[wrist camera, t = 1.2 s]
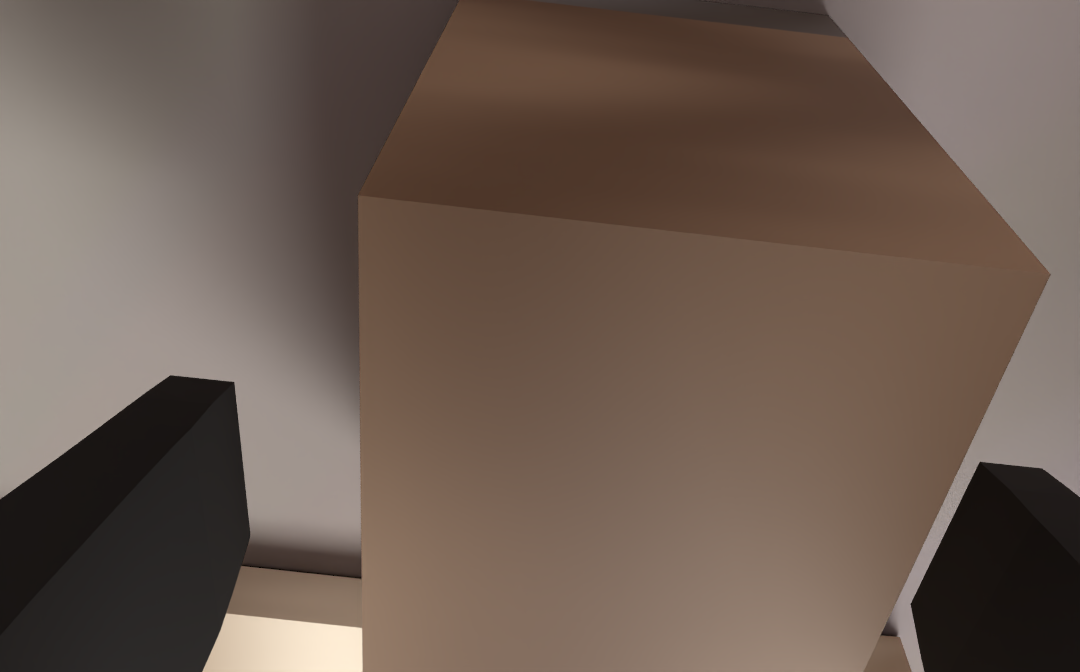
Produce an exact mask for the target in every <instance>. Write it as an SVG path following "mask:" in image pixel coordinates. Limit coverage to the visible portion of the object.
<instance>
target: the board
mask: <svg viewBox="0 0 1080 672" xmlns="http://www.w3.org/2000/svg"><path fill="white" fill-rule="evenodd" d="M202 672H363V663H362V579H357V578H348V577H338V576H329V575H320V574H311V573H301V572H292V571H283V570H274V569H264V568H255V567H246V566H241V568H240V571H239V575H238V578H237V581H236V585H235V588H234V591H233V594H232V597H231V600H230V603H229V606H228V609H227V612H226V615H225V618H224V621H223V625H222V628H221V631H220V633H219V635H218V638H217V640H216V642H215V644H214V647H213V649H212V651H211V654H210V656H209V658H208V660H207V662H206V665H205V667H204V669H203V671H202ZM864 672H911V669H910V666H909V663H908V660H907V657H906V654H905V651H904V648H903V645H902V642H901V639H900V637H893V636H883V635H880V638H879V640H878V642H877V644H876V646H875V648H874V650H873V652H872V655H871V657H870V659H869V661H868V663H867V665H866V667H865V669H864Z"/></svg>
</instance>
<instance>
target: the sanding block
mask: <svg viewBox="0 0 1080 672" xmlns="http://www.w3.org/2000/svg"><path fill="white" fill-rule="evenodd" d="M358 259H359V360H360V461H361V562H362V663H363V672H864V669H865V667H866V665H867V663H868V661H869V659H870V657H871V655H872V652H873V650H874V648H875V646H876V644H877V642H878V640H879V638H880V635H881V633H882V631H883V629H884V627H885V625H886V623H887V621H888V618H889V616H890V614H891V612H892V610H893V608H894V606H895V604H896V601H897V599H898V597H899V595H900V593H901V591H902V589H903V587H904V584H905V582H906V580H907V578H908V576H909V574H910V572H911V570H912V567H913V565H914V563H915V561H916V559H917V557H918V555H919V553H920V551H921V548H922V546H923V544H924V542H925V540H926V538H927V536H928V534H929V531H930V529H931V527H932V525H933V523H934V521H935V519H936V517H937V514H938V512H939V510H940V508H941V506H942V504H943V502H944V500H945V497H946V495H947V493H948V491H949V489H950V487H951V485H952V483H953V480H954V478H955V476H956V474H957V472H958V470H959V468H960V466H961V463H962V461H963V459H964V457H965V455H966V453H967V451H968V449H969V446H970V444H971V442H972V440H973V438H974V436H975V434H976V432H977V430H978V427H979V425H980V423H981V421H982V419H983V417H984V415H985V413H986V410H987V408H988V406H989V404H990V402H991V400H992V398H993V396H994V393H995V391H996V389H997V387H998V385H999V383H1000V381H1001V379H1002V376H1003V374H1004V372H1005V370H1006V368H1007V366H1008V364H1009V362H1010V359H1011V357H1012V355H1013V353H1014V351H1015V349H1016V347H1017V345H1018V342H1019V340H1020V338H1021V336H1022V334H1023V332H1024V330H1025V328H1026V325H1027V323H1028V321H1029V319H1030V317H1031V315H1032V313H1033V311H1034V308H1035V306H1036V304H1037V302H1038V300H1039V298H1040V296H1041V294H1042V292H1043V289H1044V287H1045V285H1046V283H1047V281H1048V279H1049V277H1050V275H1051V274H1050V273H1049V272H1048V271H1047V270H1046V268H1045V267H1044V266H1043V265H1042V264H1041V263H1040V261H1039V260H1038V259H1037V258H1036V257H1035V256H1034V254H1033V253H1032V252H1031V251H1030V250H1029V249H1028V247H1027V246H1026V245H1025V244H1024V243H1023V242H1022V240H1021V239H1020V238H1019V237H1018V236H1017V235H1016V233H1015V232H1014V231H1013V230H1012V229H1011V228H1010V226H1009V225H1008V224H1007V223H1006V222H1005V221H1004V219H1003V218H1002V217H1001V216H1000V215H999V214H998V212H997V211H996V210H995V209H994V208H993V207H992V205H991V204H990V203H989V202H988V201H987V200H986V198H985V197H984V196H983V195H982V194H981V193H980V191H979V190H978V189H977V188H976V187H975V186H974V184H973V183H972V182H971V181H970V180H969V179H968V177H967V176H966V175H965V174H964V173H963V172H962V170H961V169H960V168H959V167H958V166H957V165H956V163H955V162H954V161H953V160H952V159H951V158H950V156H949V155H948V154H947V153H946V152H945V151H944V149H943V148H942V147H941V146H940V145H939V144H938V142H937V141H936V140H935V139H934V138H933V137H932V135H931V134H930V133H929V132H928V131H927V130H926V128H925V127H924V126H923V125H922V124H921V123H920V121H919V120H918V119H917V118H916V117H915V116H914V114H913V113H912V112H911V111H910V110H909V109H908V107H907V106H906V105H905V104H904V103H903V102H902V100H901V99H900V98H899V97H898V96H897V95H896V93H895V92H894V91H893V90H892V89H891V88H890V86H889V85H888V84H887V83H886V82H885V81H884V79H883V78H882V77H881V76H880V75H879V74H878V72H877V71H876V70H875V69H874V68H873V67H872V65H871V64H870V63H869V62H868V61H867V60H866V58H865V57H864V56H863V55H862V54H861V53H860V51H859V50H858V49H857V48H856V47H855V46H854V44H853V43H852V42H851V41H850V40H849V39H848V37H847V36H846V35H845V34H844V33H843V32H842V30H841V29H840V28H839V27H838V26H837V25H836V23H835V22H834V21H833V20H832V19H831V18H830V16H829V15H820V14H812V13H803V12H795V11H786V10H778V9H769V8H761V7H752V6H744V5H735V4H727V3H718V2H710V1H701V0H459V2H458V4H457V6H456V8H455V10H454V11H453V13H452V15H451V17H450V19H449V21H448V23H447V25H446V27H445V29H444V31H443V33H442V35H441V36H440V38H439V40H438V42H437V44H436V46H435V48H434V50H433V52H432V54H431V56H430V58H429V60H428V61H427V63H426V65H425V67H424V69H423V71H422V73H421V75H420V77H419V79H418V81H417V83H416V85H415V86H414V88H413V90H412V92H411V94H410V96H409V98H408V100H407V102H406V104H405V106H404V108H403V110H402V111H401V113H400V115H399V117H398V119H397V121H396V123H395V125H394V127H393V129H392V131H391V133H390V135H389V136H388V138H387V140H386V142H385V144H384V146H383V148H382V150H381V152H380V154H379V156H378V158H377V160H376V161H375V163H374V165H373V167H372V169H371V171H370V173H369V175H368V177H367V179H366V181H365V183H364V185H363V186H362V188H361V190H360V192H359V194H358Z"/></svg>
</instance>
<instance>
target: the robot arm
mask: <svg viewBox="0 0 1080 672" xmlns="http://www.w3.org/2000/svg"><path fill="white" fill-rule="evenodd" d="M249 538H250V528H249V518H248V509H247V499H246V490H245V480H244V471H243V461H242V452H241V442H240V433H239V423H238V414H237V404H236V395H235V385H234V382H227V381H218V380H209V379H199V378H190V377H181V376H171V375H170V376H169V377H167V378H166V379H165V380H163V381H162V382H160V383H159V384H157V385H156V386H155V387H153V388H152V389H150V390H149V391H148V392H146V393H145V394H143V395H142V396H141V397H139V398H138V399H137V400H135V401H134V402H133V403H131V404H130V405H129V406H127V407H126V408H125V409H123V410H122V411H121V412H119V413H118V414H117V415H115V416H114V417H113V418H111V419H110V420H108V421H107V422H106V423H104V424H103V425H102V426H100V427H99V428H98V429H96V430H95V431H94V432H92V433H91V434H90V435H88V436H87V437H86V438H84V439H83V440H82V441H80V442H79V443H78V444H76V445H75V446H74V447H72V448H71V449H69V450H68V451H67V452H65V453H64V454H63V455H61V456H60V457H59V458H57V459H56V460H54V461H53V462H52V463H50V464H49V465H48V466H46V467H45V468H43V469H42V470H41V471H39V472H38V473H36V474H35V475H34V476H32V477H31V478H29V479H28V480H27V481H25V482H24V483H22V484H21V485H20V486H18V487H17V488H16V489H14V490H13V491H11V492H10V493H9V494H7V495H6V496H4V497H3V498H2V499H0V672H202V671H203V669H204V667H205V665H206V662H207V660H208V658H209V656H210V654H211V651H212V649H213V647H214V644H215V642H216V640H217V638H218V635H219V633H220V631H221V628H222V625H223V621H224V618H225V615H226V612H227V609H228V606H229V603H230V600H231V597H232V594H233V591H234V588H235V585H236V581H237V578H238V575H239V571H240V568H241V565H242V561H243V558H244V555H245V552H246V548H247V545H248V542H249ZM911 608H912V613H913V618H914V623H915V628H916V633H917V638H918V644H919V649H920V654H921V659H922V663H923V667H924V671H925V672H1080V497H1079V496H1078V495H1076V494H1075V493H1074V492H1072V491H1071V490H1070V489H1069V488H1067V487H1066V486H1065V485H1064V484H1062V483H1061V482H1059V481H1058V480H1057V479H1055V478H1054V477H1053V476H1051V475H1050V474H1049V473H1047V472H1046V471H1045V470H1043V469H1041V468H1032V467H1022V466H1013V465H1003V464H994V463H985V462H979V465H978V467H977V469H976V471H975V473H974V475H973V477H972V479H971V481H970V483H969V485H968V487H967V489H966V491H965V493H964V495H963V498H962V500H961V502H960V504H959V506H958V508H957V510H956V512H955V514H954V516H953V518H952V520H951V522H950V524H949V526H948V528H947V530H946V533H945V535H944V537H943V539H942V541H941V543H940V545H939V547H938V549H937V551H936V553H935V555H934V557H933V559H932V561H931V563H930V565H929V568H928V570H927V572H926V574H925V576H924V578H923V580H922V582H921V584H920V586H919V588H918V590H917V592H916V594H915V596H914V598H913V600H912V603H911Z"/></svg>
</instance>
